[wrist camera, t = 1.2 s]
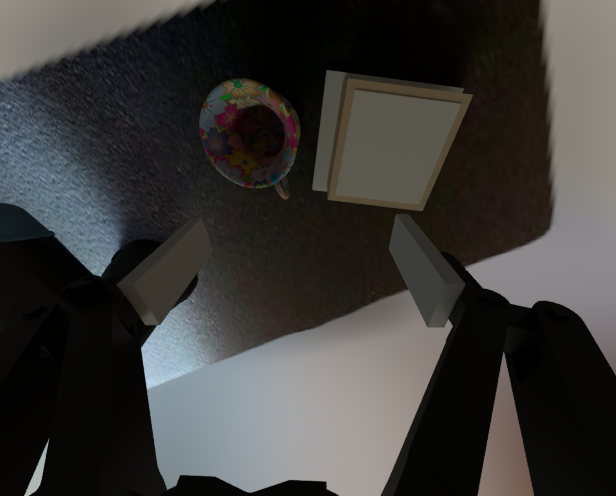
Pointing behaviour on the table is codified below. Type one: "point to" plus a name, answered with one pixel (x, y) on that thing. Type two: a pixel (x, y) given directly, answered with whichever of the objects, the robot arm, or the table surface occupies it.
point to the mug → (250, 134)
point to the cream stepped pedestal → (384, 138)
